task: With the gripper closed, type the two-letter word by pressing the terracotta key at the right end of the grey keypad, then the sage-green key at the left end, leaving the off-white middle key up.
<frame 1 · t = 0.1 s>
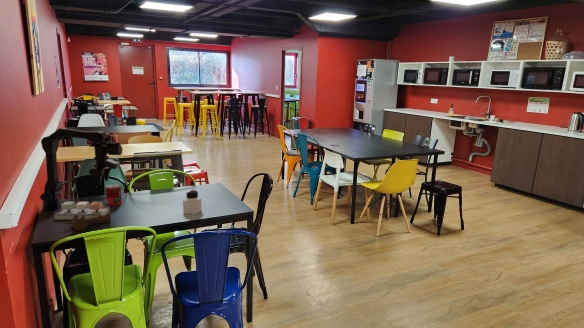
hand: (103, 183, 204), 15 cm above the table, fingers open, 9 cm apart
key terracotta: (96, 205, 197), point 5 cm above the table, slide at 0.0 cm
key sage: (68, 205, 196), point 5 cm above the table, slide at 0.0 cm
key white: (82, 205, 196), point 5 cm above the table, slide at 0.0 cm
medicine bottle: (192, 212, 207), on the table
canned food: (114, 204, 216), on the table
kendama: (88, 226, 184), on the table
keypad base: (83, 215, 197), on the table
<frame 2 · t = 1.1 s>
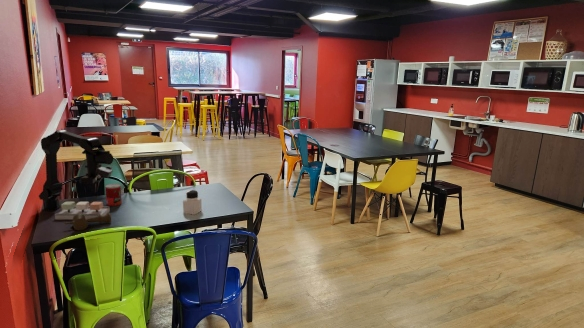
hand: (95, 192, 195), 13 cm above the table, fingers closed
nothing on the table moved.
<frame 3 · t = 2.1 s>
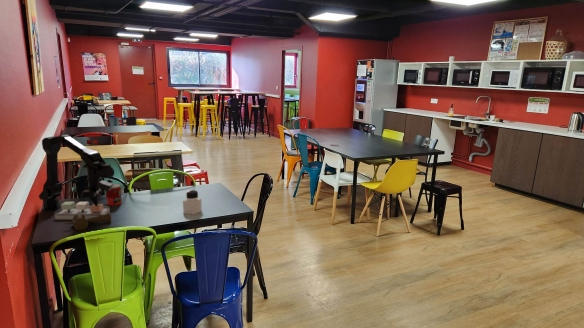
hand: (96, 205, 197), 5 cm above the table, fingers closed, pressing on key terracotta
key terracotta: (96, 208, 197), point 4 cm above the table, slide at 1.2 cm, touching gripper
everything else where it was.
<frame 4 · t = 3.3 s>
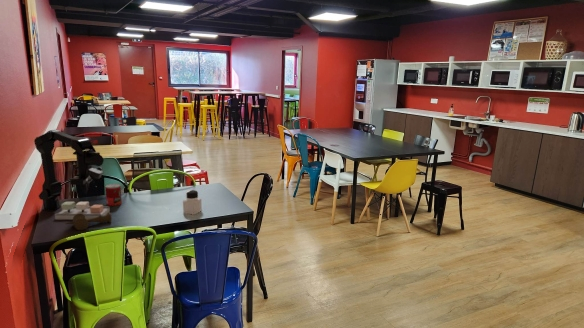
hand: (85, 193, 195), 12 cm above the table, fingers closed
key terracotta: (96, 208, 197), point 4 cm above the table, slide at 1.6 cm
everything else where it was.
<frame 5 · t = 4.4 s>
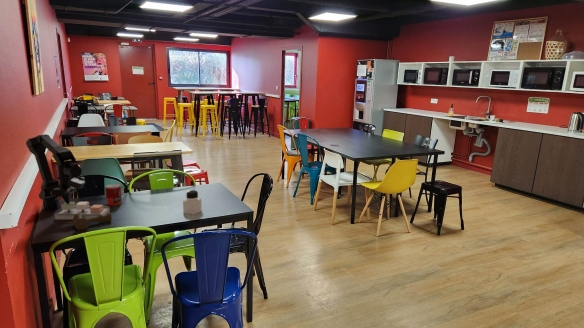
hand: (68, 203, 195), 6 cm above the table, fingers closed, pressing on key sage
key sage: (68, 206, 196), point 5 cm above the table, slide at 0.2 cm, touching gripper
everything else where it was.
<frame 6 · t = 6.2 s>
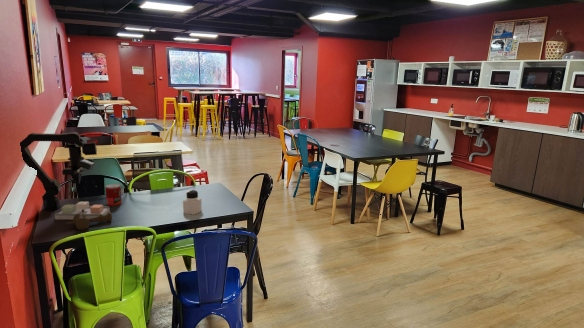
hand: (78, 183, 208), 13 cm above the table, fingers closed
key sage: (68, 208, 196), point 4 cm above the table, slide at 1.6 cm
everything else where it was.
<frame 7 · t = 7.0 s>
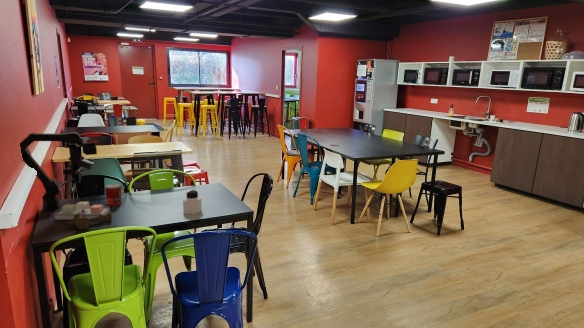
hand: (78, 183, 208), 13 cm above the table, fingers closed
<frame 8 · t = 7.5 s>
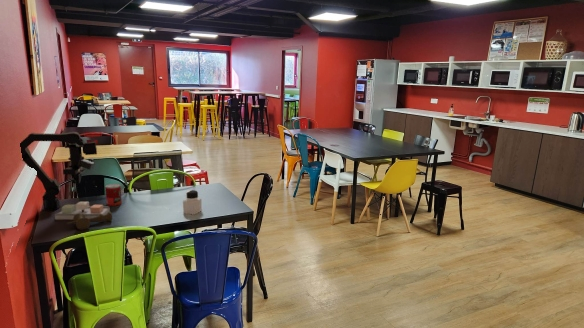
hand: (78, 183, 208), 13 cm above the table, fingers closed
at the end: key terracotta slide at 1.6 cm; key sage slide at 1.6 cm; key white slide at 0.0 cm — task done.
